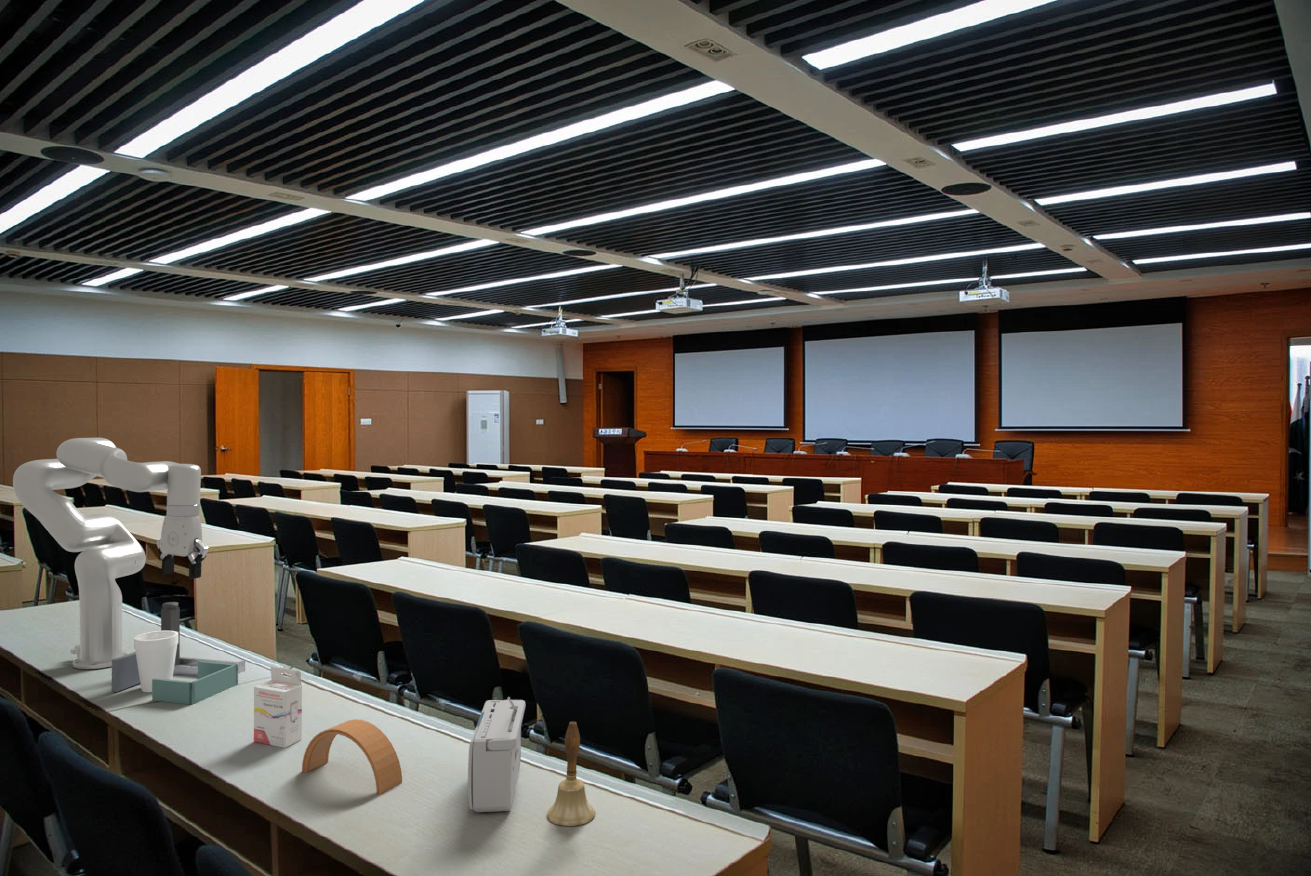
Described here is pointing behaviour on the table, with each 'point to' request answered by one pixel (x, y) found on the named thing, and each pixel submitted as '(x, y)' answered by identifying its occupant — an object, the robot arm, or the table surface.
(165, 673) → the foam cup
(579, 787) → the hand bell
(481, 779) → the stereo radio cassette player
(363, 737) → the arch
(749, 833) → the table surface
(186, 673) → the striker rails
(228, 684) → the box
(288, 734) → the ink cartridge box
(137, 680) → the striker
